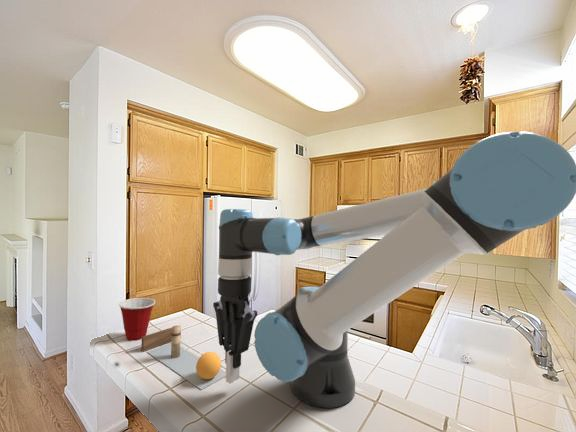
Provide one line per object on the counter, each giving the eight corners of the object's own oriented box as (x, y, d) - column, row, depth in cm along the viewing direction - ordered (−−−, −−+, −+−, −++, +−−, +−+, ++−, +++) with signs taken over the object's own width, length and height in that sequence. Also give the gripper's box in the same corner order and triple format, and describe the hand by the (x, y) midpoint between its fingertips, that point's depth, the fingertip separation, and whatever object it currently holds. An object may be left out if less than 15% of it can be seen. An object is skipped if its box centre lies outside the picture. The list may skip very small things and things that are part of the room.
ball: (225, 376, 66) (226, 352, 66) (205, 388, 61) (205, 362, 61) (211, 368, 70) (211, 345, 70) (190, 378, 65) (191, 353, 65)
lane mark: (228, 374, 67) (228, 374, 67) (201, 390, 60) (201, 389, 60) (173, 343, 84) (173, 342, 84) (147, 352, 78) (147, 351, 78)
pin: (181, 356, 75) (182, 326, 76) (173, 360, 74) (174, 329, 74) (177, 353, 77) (178, 324, 77) (169, 357, 75) (169, 327, 75)
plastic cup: (138, 346, 82) (139, 307, 82) (109, 342, 84) (110, 305, 84) (161, 332, 92) (162, 298, 93) (135, 329, 94) (136, 296, 95)
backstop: (172, 341, 85) (172, 329, 85) (143, 351, 78) (143, 338, 78) (170, 340, 86) (170, 327, 86) (141, 350, 79) (141, 336, 79)
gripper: (266, 277, 59) (264, 383, 59) (229, 270, 67) (227, 363, 67) (241, 283, 53) (239, 400, 53) (204, 274, 61) (201, 376, 61)
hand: (232, 379), depth 60 cm, fingers closed
